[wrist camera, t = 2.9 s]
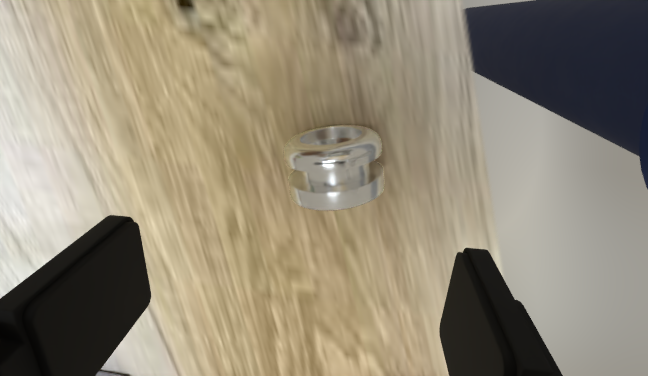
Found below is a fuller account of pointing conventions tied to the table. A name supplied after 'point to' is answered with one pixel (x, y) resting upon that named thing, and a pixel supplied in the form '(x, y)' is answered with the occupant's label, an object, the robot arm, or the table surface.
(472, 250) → the robot arm
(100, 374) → the supplement box
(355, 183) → the metal grooved wheel
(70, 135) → the table surface
